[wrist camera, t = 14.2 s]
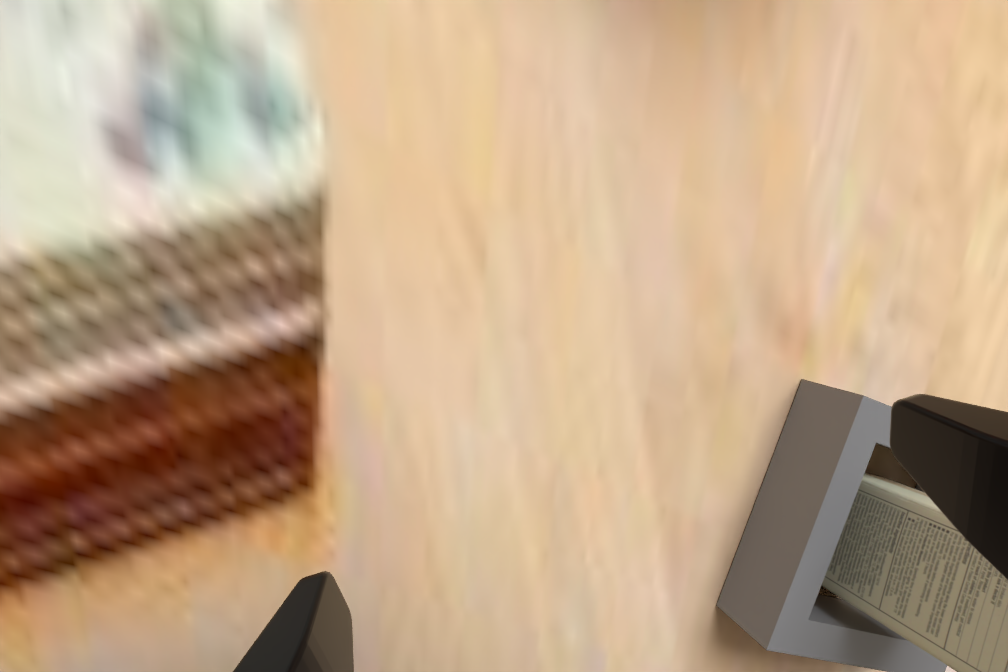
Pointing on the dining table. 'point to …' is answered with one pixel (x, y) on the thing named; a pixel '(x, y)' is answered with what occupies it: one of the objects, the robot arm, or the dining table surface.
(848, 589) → the box
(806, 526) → the block
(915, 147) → the dining table surface
